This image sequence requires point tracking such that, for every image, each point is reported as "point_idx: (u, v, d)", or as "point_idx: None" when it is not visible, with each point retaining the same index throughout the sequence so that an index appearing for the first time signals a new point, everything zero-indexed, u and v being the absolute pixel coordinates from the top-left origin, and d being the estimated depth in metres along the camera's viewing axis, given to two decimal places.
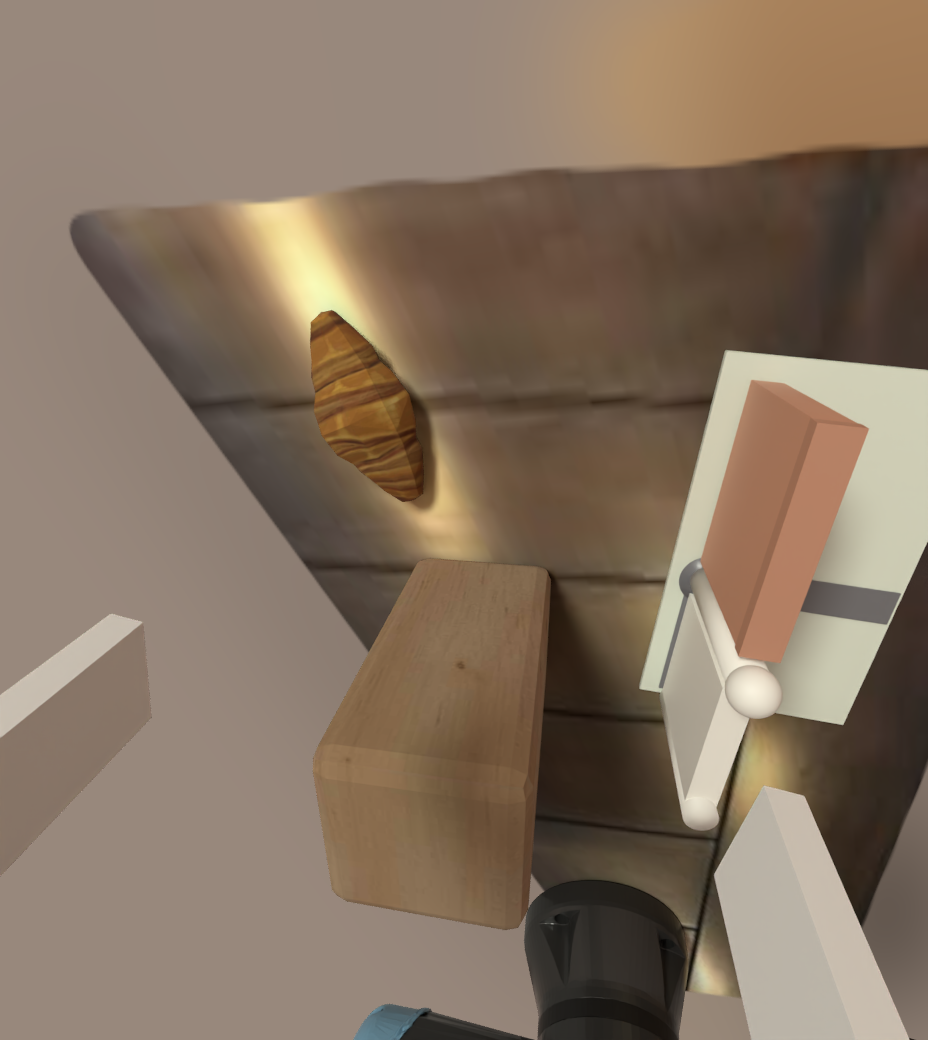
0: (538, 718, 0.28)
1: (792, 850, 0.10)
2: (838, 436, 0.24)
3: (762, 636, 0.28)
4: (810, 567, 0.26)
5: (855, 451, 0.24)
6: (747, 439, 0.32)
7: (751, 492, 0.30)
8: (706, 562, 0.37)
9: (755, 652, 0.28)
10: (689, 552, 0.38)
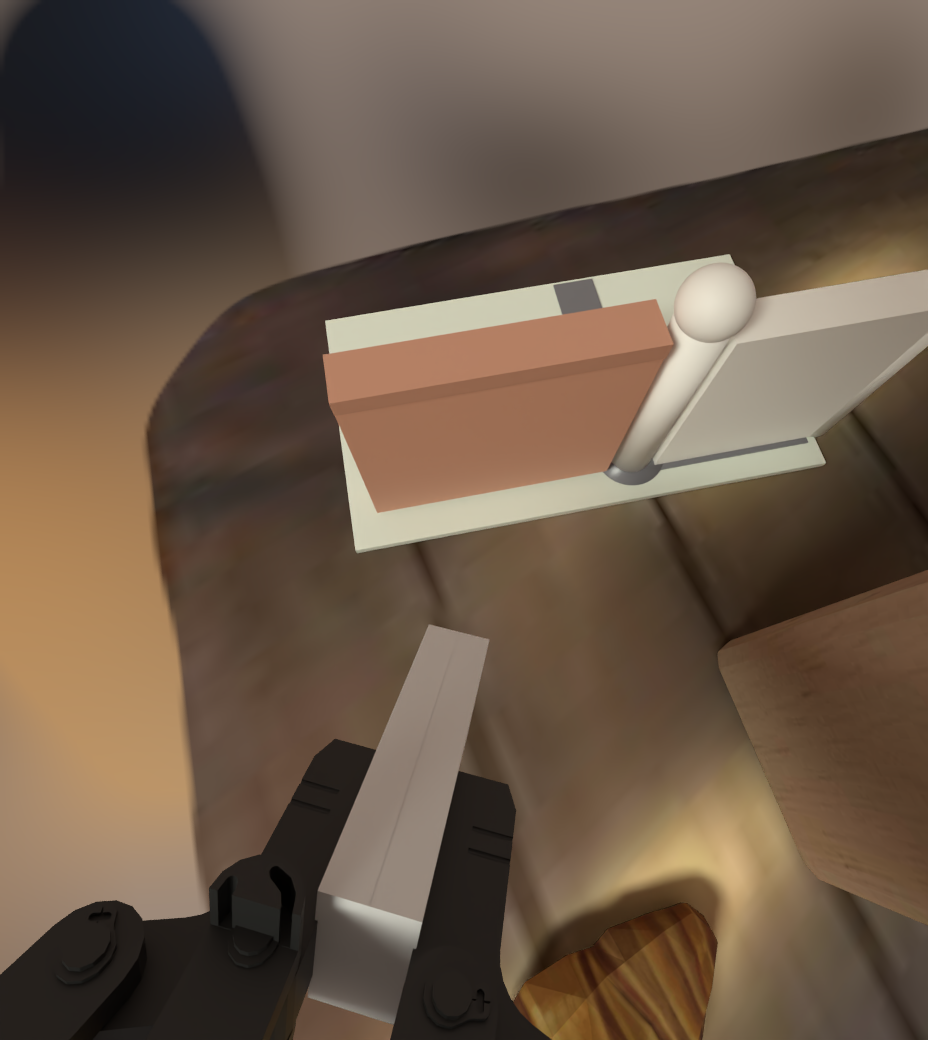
0: None
1: (451, 667, 0.12)
2: (339, 377, 0.19)
3: (629, 332, 0.20)
4: (509, 329, 0.20)
5: (352, 354, 0.20)
6: (432, 484, 0.27)
7: (475, 446, 0.24)
8: (601, 461, 0.28)
9: (656, 329, 0.20)
10: (602, 487, 0.30)
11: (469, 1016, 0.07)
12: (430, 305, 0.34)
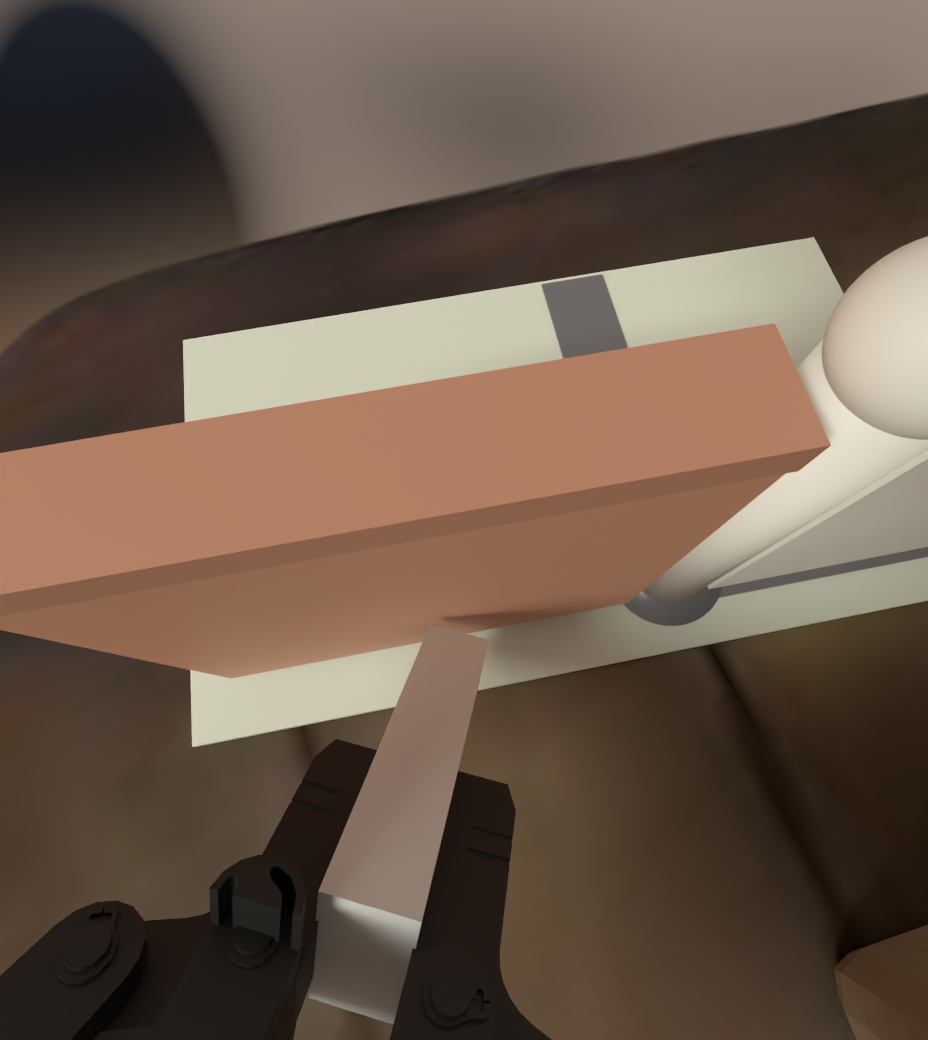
0: None
1: (451, 667, 0.12)
2: None
3: (711, 412, 0.08)
4: (405, 401, 0.08)
5: None
6: (311, 648, 0.15)
7: (370, 611, 0.12)
8: (619, 597, 0.16)
9: (782, 404, 0.08)
10: (620, 629, 0.18)
11: (469, 1016, 0.07)
12: (349, 316, 0.22)
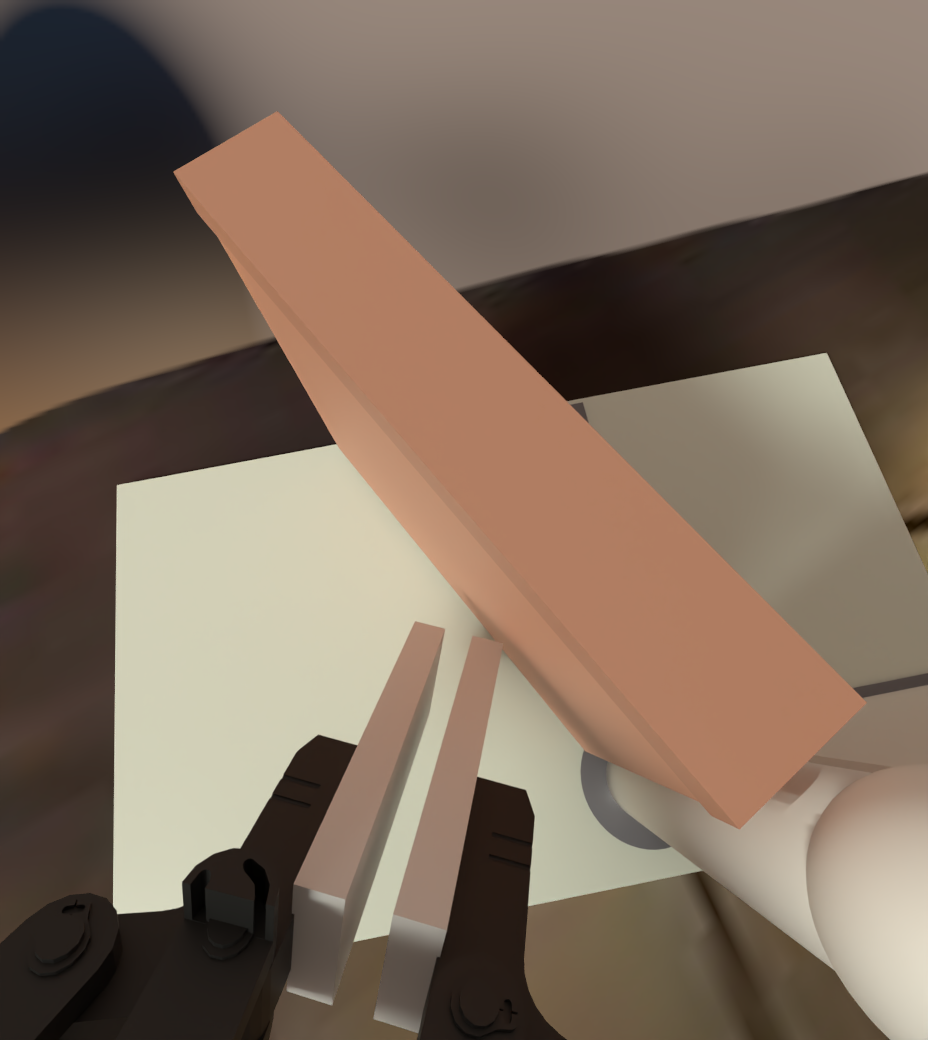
0: None
1: (466, 671, 0.12)
2: (239, 158, 0.09)
3: (695, 674, 0.06)
4: (525, 385, 0.08)
5: (302, 152, 0.09)
6: (379, 487, 0.16)
7: (409, 504, 0.13)
8: (578, 736, 0.15)
9: (757, 751, 0.06)
10: (593, 852, 0.15)
11: (498, 1026, 0.07)
12: (299, 454, 0.20)
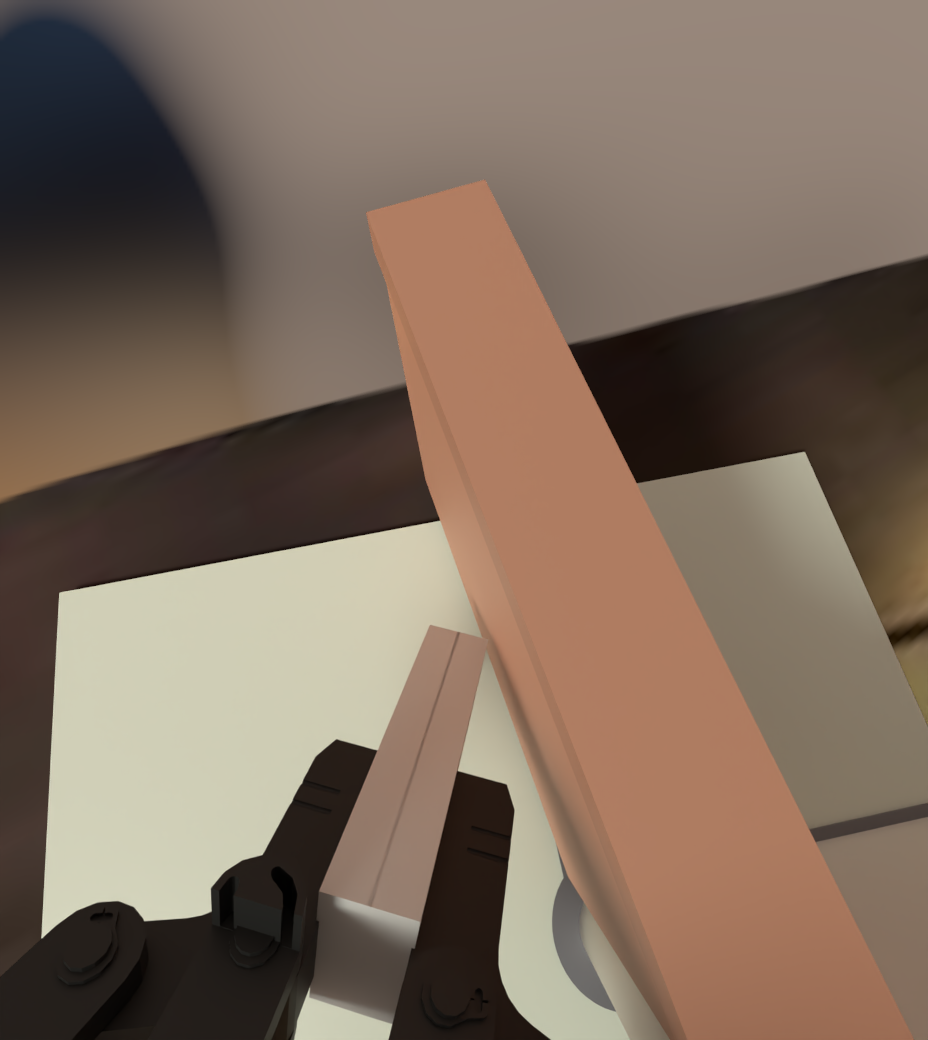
0: None
1: (450, 667, 0.12)
2: (433, 217, 0.09)
3: (739, 958, 0.06)
4: (649, 553, 0.07)
5: (496, 228, 0.09)
6: (452, 538, 0.16)
7: (478, 581, 0.12)
8: (566, 863, 0.14)
9: None
10: (565, 1016, 0.14)
11: (468, 1016, 0.07)
12: (256, 559, 0.18)
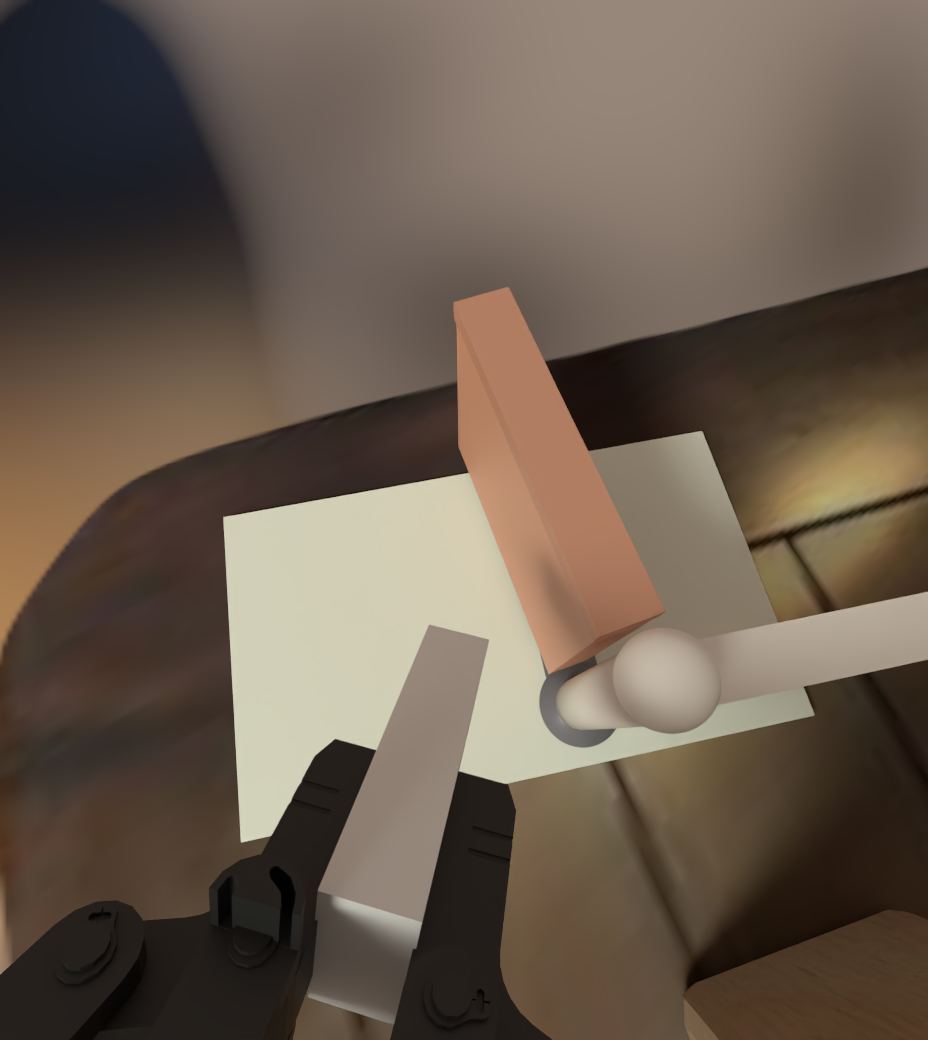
0: None
1: (451, 667, 0.12)
2: (485, 305, 0.19)
3: (604, 580, 0.16)
4: (578, 449, 0.17)
5: (514, 311, 0.19)
6: (479, 477, 0.26)
7: (499, 489, 0.23)
8: (547, 658, 0.24)
9: (617, 614, 0.16)
10: (546, 750, 0.25)
11: (470, 1016, 0.07)
12: (349, 496, 0.29)
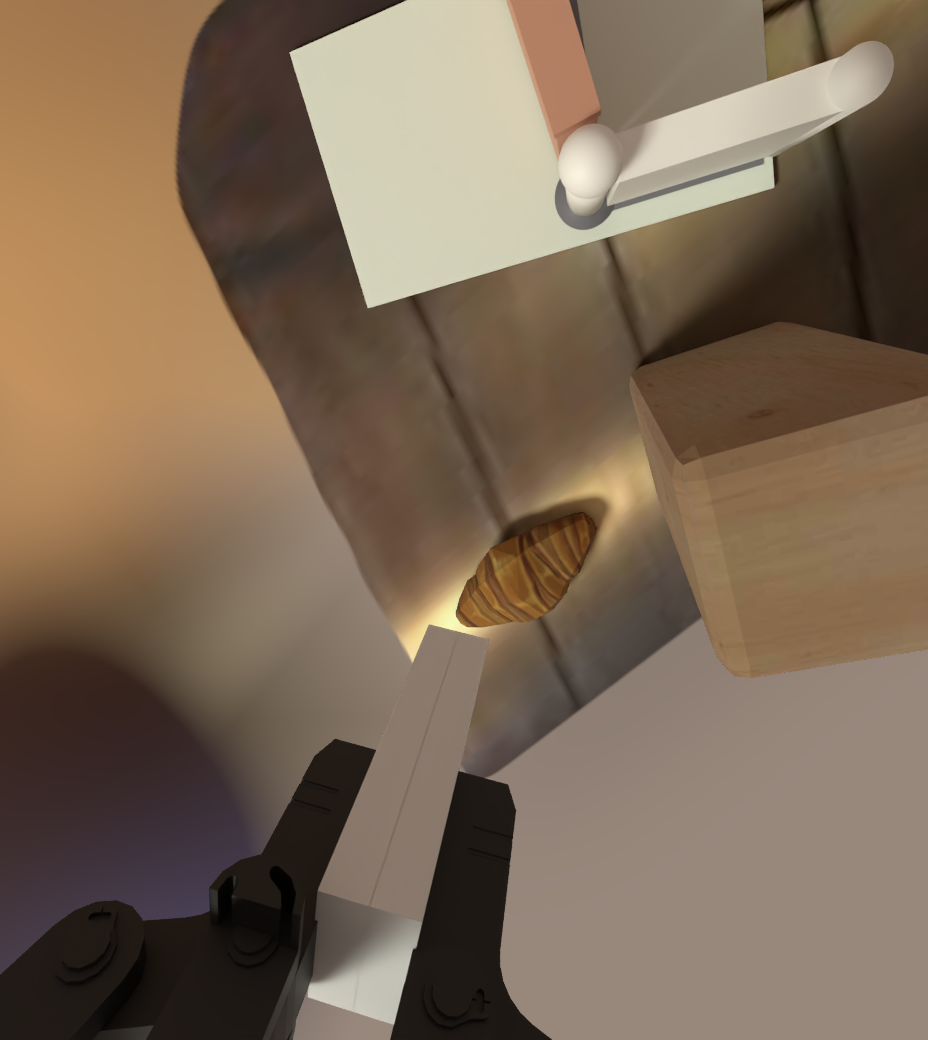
0: (673, 419, 0.24)
1: (451, 667, 0.12)
2: None
3: (560, 88, 0.23)
4: None
5: None
6: None
7: None
8: (557, 158, 0.32)
9: (567, 116, 0.23)
10: (558, 234, 0.35)
11: (470, 1016, 0.07)
12: (388, 11, 0.32)
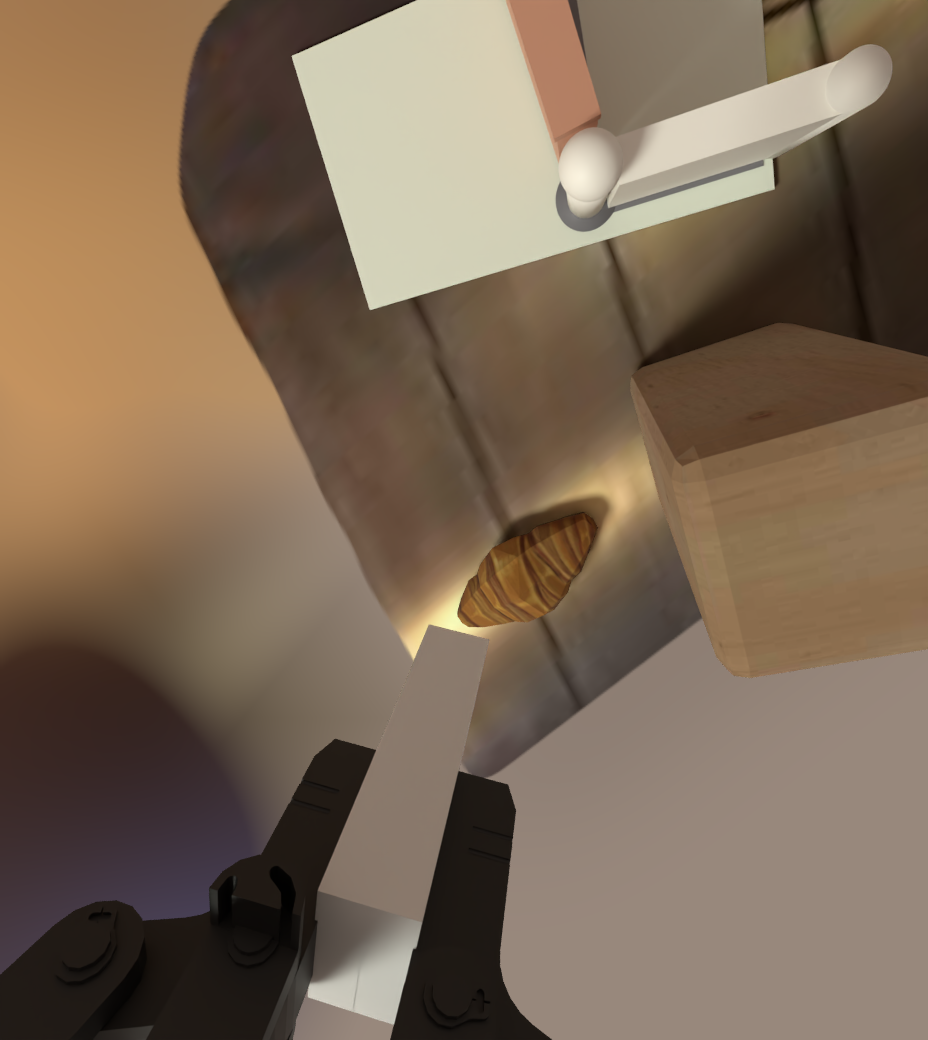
0: (672, 421, 0.24)
1: (451, 667, 0.12)
2: None
3: (560, 92, 0.23)
4: None
5: None
6: None
7: None
8: (558, 161, 0.32)
9: (567, 119, 0.23)
10: (559, 236, 0.35)
11: (470, 1016, 0.07)
12: (390, 15, 0.32)
